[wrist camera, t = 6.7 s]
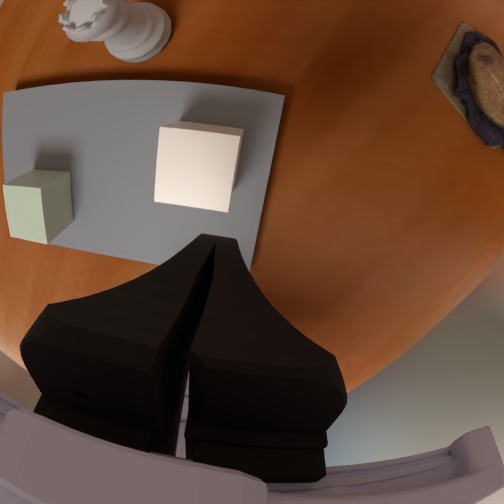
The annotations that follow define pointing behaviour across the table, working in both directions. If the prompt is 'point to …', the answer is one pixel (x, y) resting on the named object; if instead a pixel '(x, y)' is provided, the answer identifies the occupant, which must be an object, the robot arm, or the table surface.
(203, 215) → the panel
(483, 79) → the abalone
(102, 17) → the rook chess piece
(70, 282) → the table surface
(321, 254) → the table surface
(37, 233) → the pale green cube
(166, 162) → the cream matte cube
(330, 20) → the table surface
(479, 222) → the table surface
